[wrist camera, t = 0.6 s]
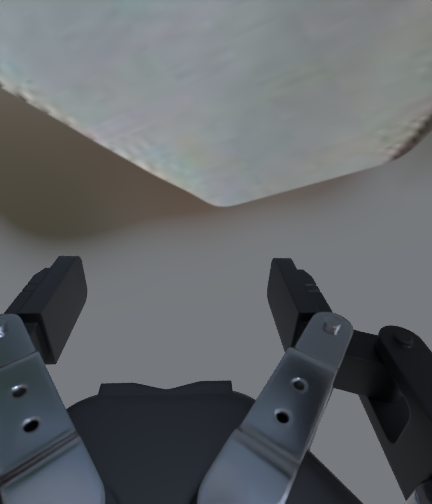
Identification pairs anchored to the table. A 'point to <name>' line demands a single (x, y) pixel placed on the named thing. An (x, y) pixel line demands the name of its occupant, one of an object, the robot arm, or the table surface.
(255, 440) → the robot arm
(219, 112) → the table surface
